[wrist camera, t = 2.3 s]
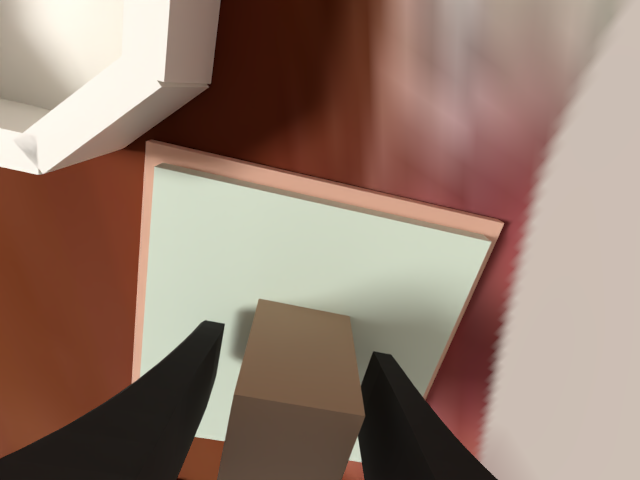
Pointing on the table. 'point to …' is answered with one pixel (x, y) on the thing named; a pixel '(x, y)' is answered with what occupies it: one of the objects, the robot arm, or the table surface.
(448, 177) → the table surface
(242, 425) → the lid
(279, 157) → the table surface
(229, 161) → the peach square plate
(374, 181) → the table surface
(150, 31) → the bowl
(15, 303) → the table surface
